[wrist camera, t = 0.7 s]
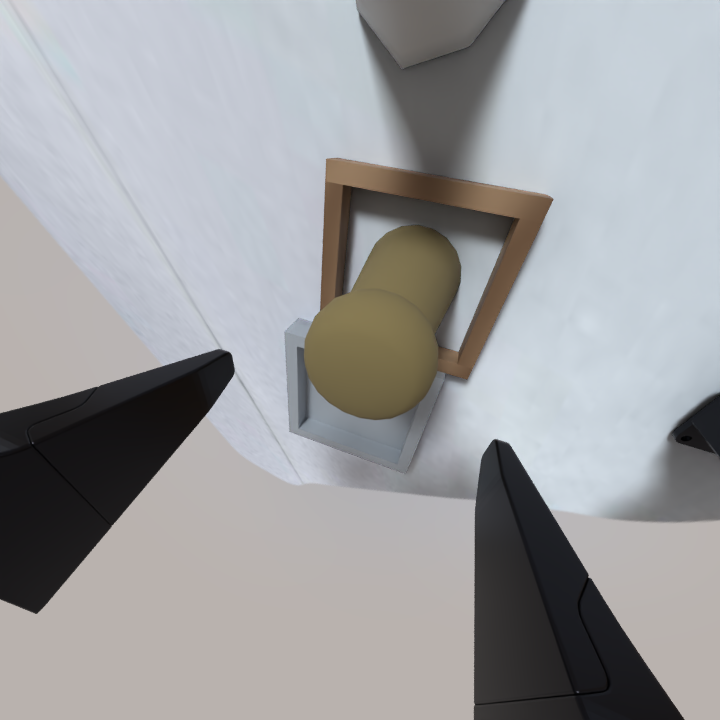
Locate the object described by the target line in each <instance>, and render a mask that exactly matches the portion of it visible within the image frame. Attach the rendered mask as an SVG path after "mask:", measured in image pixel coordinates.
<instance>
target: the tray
mask: <svg viewBox="0 0 720 720" xmlns="http://www.w3.org/2000/svg"><path fill="white" fill-rule="evenodd" d="M311 324H312V322H309V321H306V320H303V319H299V318H298V319H297V320H296V321H295V322H294V323H293V324H292V325H291V326H290V327H289V328H288V329H287V330H286V331H285V351H286V371H287V391H288V411H289V431H290V432H291V433H294V434H297V435H300V436H302V437H305V438H308V439H311V440H313V441H316V442H319V443H322V444H324V445H327V446H330V447H333V448H335V449H338V450H341V451H344V452H346V453H349V454H352V455H355V456H357V457H360V458H363V459H366V460H368V461H371V462H374V463H377V464H379V465H382V466H385V467H388V468H390V469H393V470H396V471H399V472H401V473H404V474H406V472H407V470H408V467H409V465H410V462H411V460H412V457H413V455H414V453H415V450H416V448H417V445H418V443H419V440H420V438H421V436H422V433H423V431H424V428H425V426H426V423H427V421H428V419H429V416H430V414H431V411H432V409H433V406H434V404H435V401H436V399H437V397H438V394H439V392H440V389H441V387H442V384H443V382H444V380H445V373H443V372H440V371H437V374H436V377H435V379H434V381H433V383H432V386H431V388H430V390H429V392H428V393H427V395H426V396H425V398H424V399H423V400H422V401H420V402H419V403H418V404H417V405H416V406H415V407H414V408H413V409H411V410H409V411H408V412H406V413H404V414H401V415H399V416H396V417H394V418H392V419H383V420H370V419H363V418H358V417H355V416H353V415H350V414H347V413H345V412H343V411H341V410H339V409H338V408H336V407H335V406H333V405H331V404H330V403H329V402H328V401H327V400H325V399H324V398H323V397H322V396H321V395H320V394H319V393H318V392H317V390H316V389H315V387H314V385H313V384H312V382H311V381H310V379H309V377H308V373H307V370H306V367H305V361H304V343H305V338H306V335H307V333H308V330H309V328H310V326H311Z"/></svg>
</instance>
